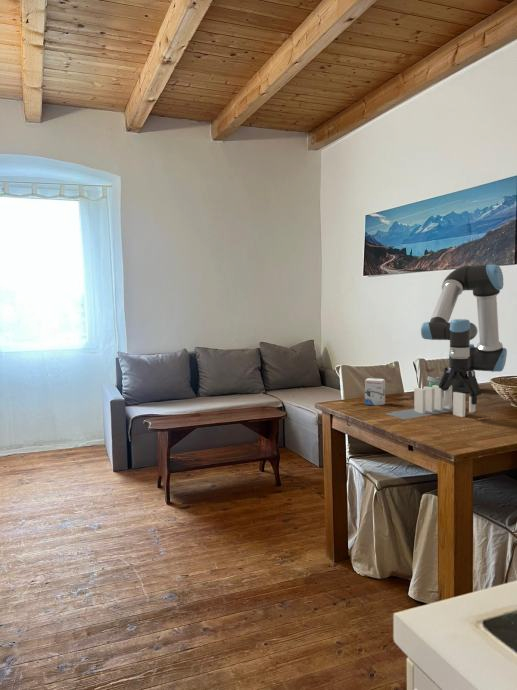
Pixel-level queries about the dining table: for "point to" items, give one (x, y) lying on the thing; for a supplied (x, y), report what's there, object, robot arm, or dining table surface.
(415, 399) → the domino
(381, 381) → the ink box
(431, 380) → the food container
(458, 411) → the domino
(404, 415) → the mat
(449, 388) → the domino
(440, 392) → the domino
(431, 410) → the domino
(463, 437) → the dining table surface
